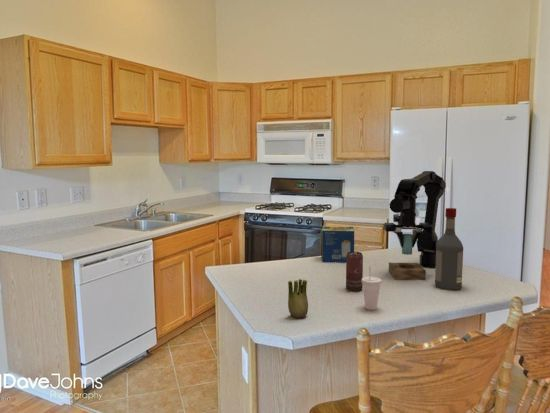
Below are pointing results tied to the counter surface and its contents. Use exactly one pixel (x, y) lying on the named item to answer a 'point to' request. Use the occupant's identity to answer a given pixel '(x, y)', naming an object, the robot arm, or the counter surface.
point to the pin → (407, 244)
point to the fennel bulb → (297, 299)
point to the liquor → (449, 256)
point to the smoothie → (371, 291)
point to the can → (354, 271)
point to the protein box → (337, 243)
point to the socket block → (407, 271)
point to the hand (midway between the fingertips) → (407, 247)
